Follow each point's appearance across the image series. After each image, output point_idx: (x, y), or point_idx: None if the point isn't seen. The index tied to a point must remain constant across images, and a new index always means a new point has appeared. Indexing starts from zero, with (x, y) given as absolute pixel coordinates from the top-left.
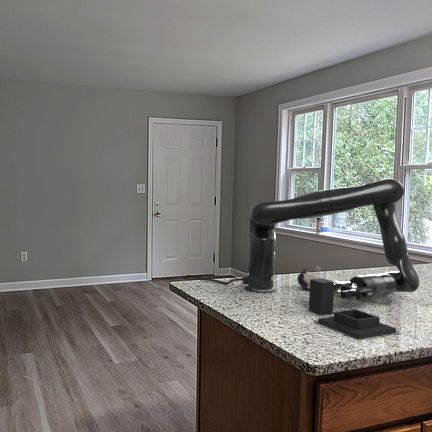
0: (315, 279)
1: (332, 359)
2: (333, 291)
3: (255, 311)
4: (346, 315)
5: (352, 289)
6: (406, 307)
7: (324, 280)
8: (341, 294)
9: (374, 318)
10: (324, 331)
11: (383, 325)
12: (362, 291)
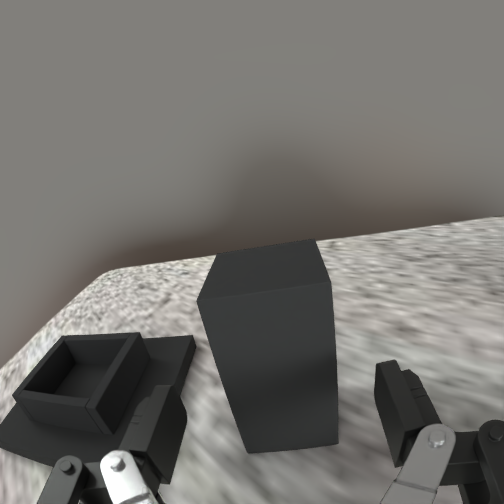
0: (301, 250)
1: (90, 287)
2: (216, 360)
3: (351, 270)
4: (97, 338)
5: (132, 471)
6: None
7: (258, 272)
8: (175, 397)
9: (25, 379)
10: (146, 327)
11: (18, 433)
12: (52, 473)
